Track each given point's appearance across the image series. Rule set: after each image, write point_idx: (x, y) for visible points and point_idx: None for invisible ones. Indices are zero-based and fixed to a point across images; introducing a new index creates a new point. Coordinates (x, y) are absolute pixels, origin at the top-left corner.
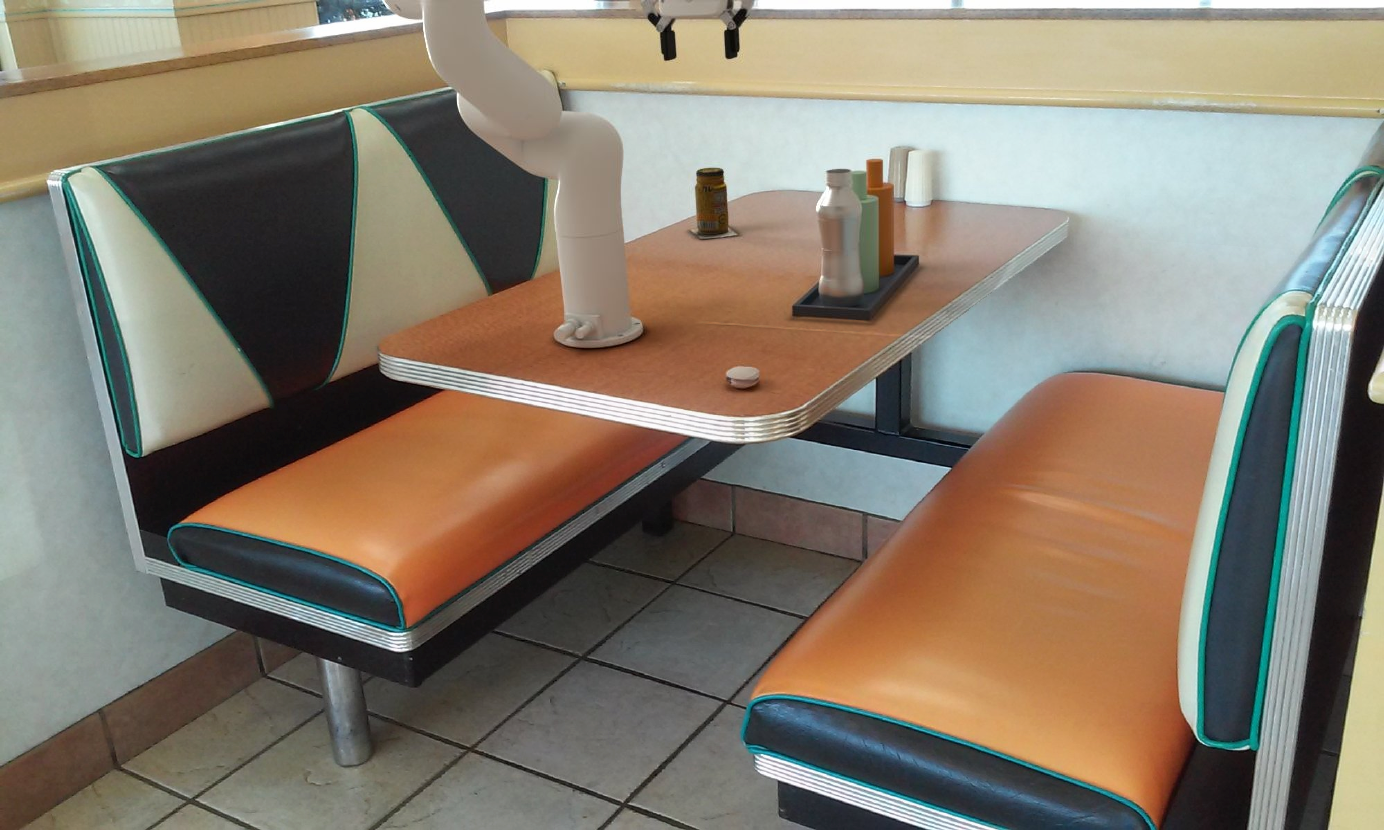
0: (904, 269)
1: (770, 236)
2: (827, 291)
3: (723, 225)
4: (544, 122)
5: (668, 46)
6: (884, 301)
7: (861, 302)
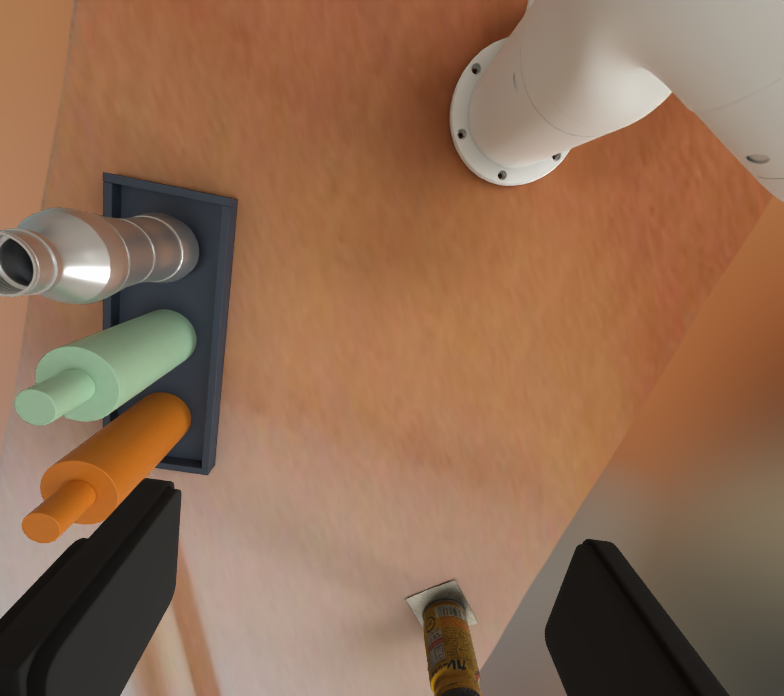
0: None
1: (358, 595)
2: (172, 218)
3: (428, 616)
4: None
5: (622, 624)
6: None
7: None
